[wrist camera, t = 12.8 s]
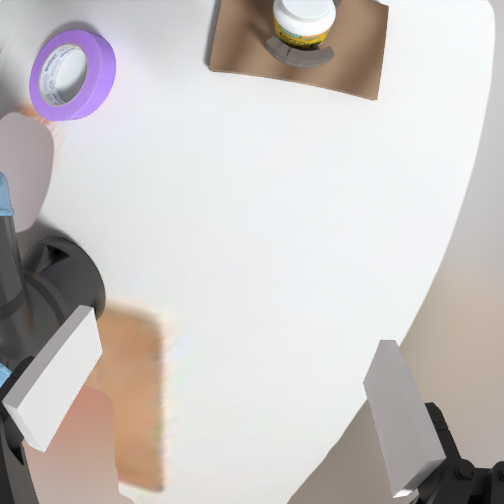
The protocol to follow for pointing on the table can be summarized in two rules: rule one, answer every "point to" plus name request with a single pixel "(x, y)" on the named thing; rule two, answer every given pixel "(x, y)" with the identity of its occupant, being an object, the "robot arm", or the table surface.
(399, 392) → the robot arm
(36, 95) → the masking tape
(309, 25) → the supplement bottle
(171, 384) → the table surface
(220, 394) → the table surface
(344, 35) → the collar board
